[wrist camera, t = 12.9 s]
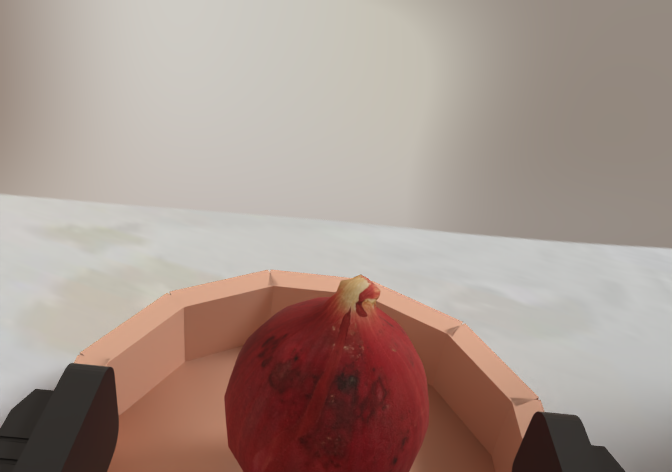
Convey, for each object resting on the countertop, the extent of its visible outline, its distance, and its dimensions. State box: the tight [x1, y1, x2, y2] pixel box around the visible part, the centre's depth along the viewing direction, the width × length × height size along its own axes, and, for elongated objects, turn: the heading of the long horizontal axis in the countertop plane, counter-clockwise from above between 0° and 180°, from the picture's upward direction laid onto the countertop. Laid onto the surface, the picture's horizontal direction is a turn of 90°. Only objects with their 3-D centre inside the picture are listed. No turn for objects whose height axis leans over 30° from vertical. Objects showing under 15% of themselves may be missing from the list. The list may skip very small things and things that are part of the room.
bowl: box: [74, 270, 544, 472], centre depth 20 cm, size 15×15×4 cm
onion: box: [224, 275, 429, 472], centre depth 18 cm, size 6×6×8 cm
